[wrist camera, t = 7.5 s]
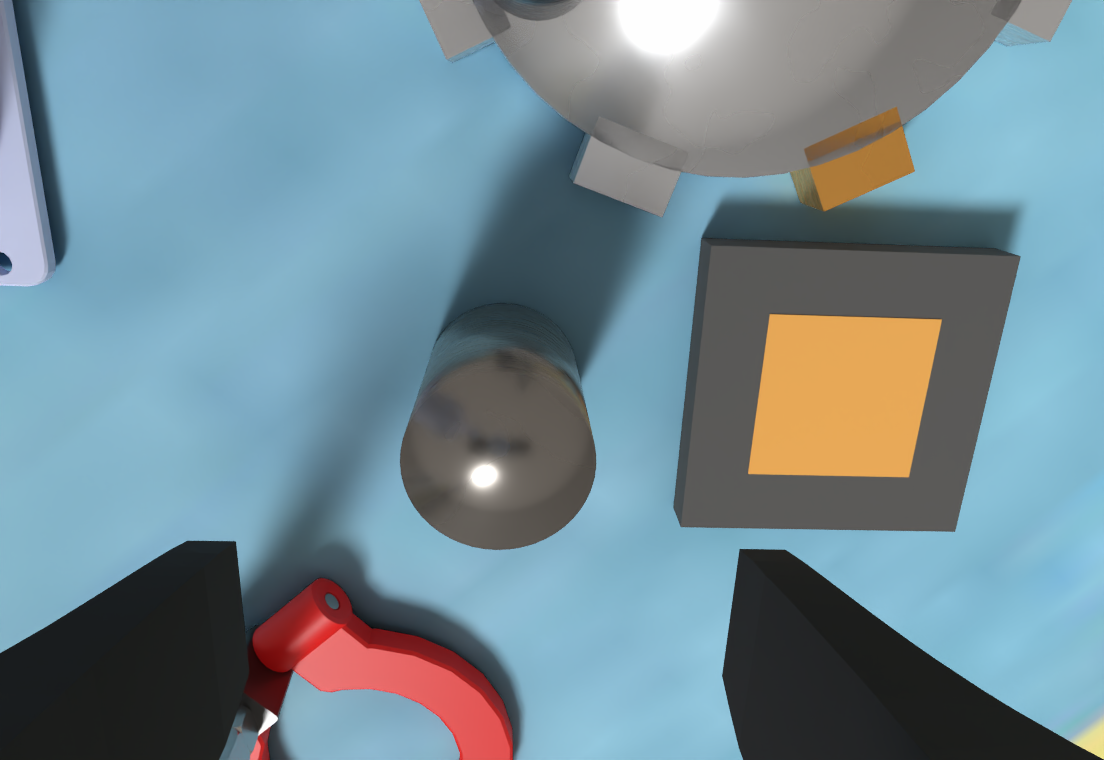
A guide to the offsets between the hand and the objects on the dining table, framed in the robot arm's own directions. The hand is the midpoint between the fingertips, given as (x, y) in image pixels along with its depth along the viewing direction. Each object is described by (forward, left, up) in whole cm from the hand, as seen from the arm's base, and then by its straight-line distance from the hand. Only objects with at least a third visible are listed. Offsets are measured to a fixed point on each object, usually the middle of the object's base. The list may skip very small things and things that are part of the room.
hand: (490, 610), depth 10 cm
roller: (0, 0, -9) cm, 9 cm away
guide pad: (+8, 0, -9) cm, 12 cm away
